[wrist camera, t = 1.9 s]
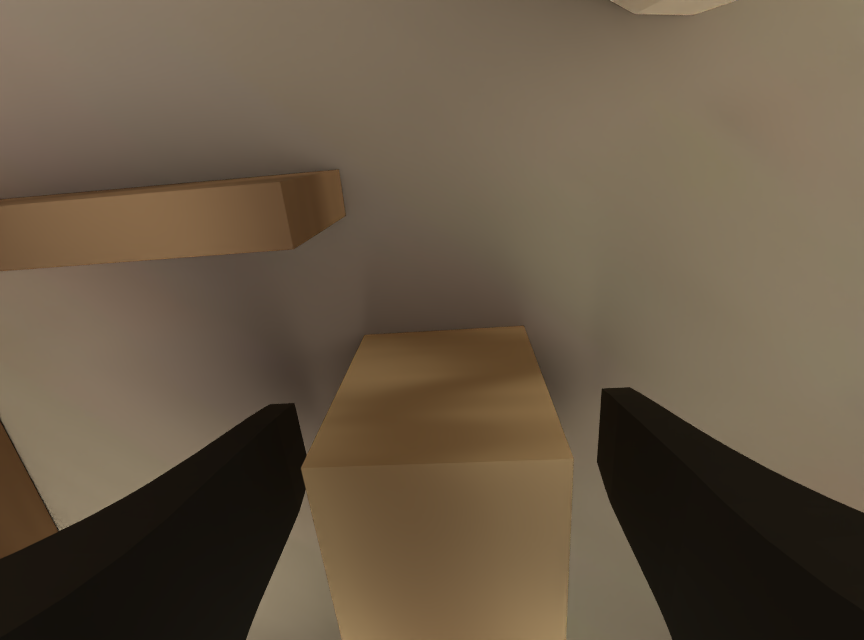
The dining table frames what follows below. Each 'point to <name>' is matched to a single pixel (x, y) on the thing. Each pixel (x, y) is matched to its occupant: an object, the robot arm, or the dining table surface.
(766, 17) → the dining table surface
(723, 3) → the white cylinder
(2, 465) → the corral
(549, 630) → the oak block
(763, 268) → the dining table surface
